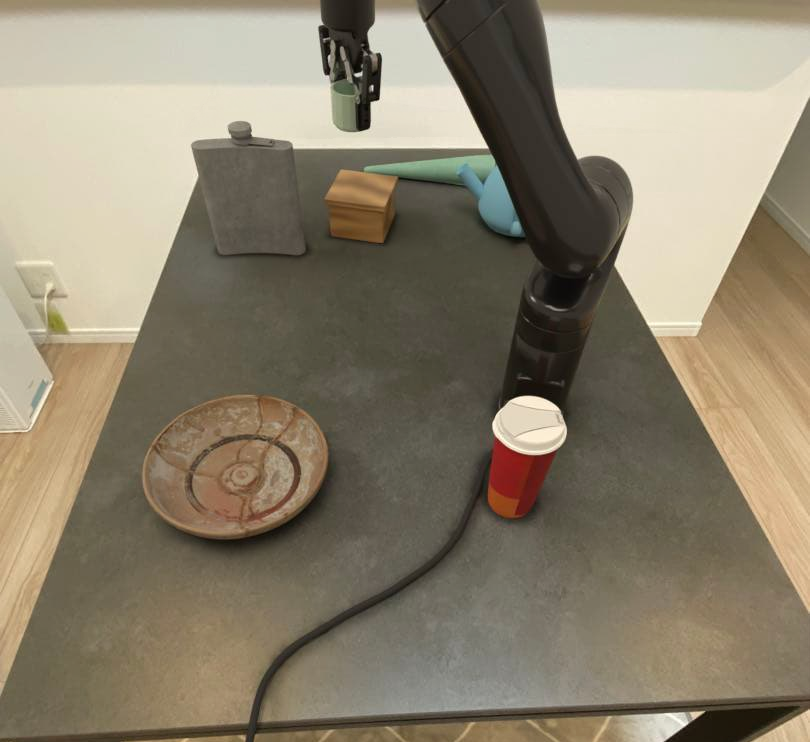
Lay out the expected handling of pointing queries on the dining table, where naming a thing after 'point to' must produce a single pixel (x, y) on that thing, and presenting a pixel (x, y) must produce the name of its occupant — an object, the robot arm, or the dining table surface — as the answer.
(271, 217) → the hip flask
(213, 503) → the ceramic bowl
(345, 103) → the pale green cup
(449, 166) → the mint green cone
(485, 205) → the teapot
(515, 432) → the coffee cup
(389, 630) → the dining table surface
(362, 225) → the riser
